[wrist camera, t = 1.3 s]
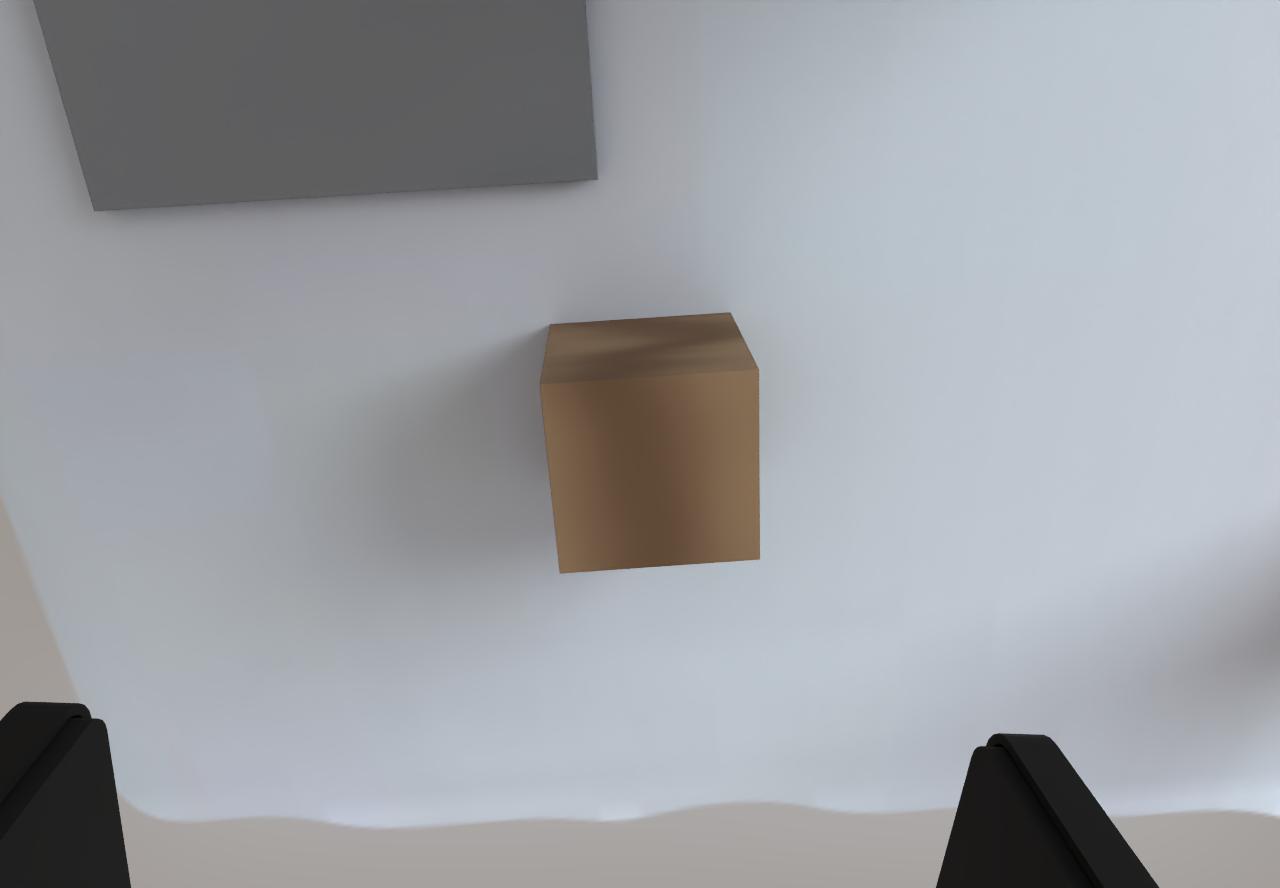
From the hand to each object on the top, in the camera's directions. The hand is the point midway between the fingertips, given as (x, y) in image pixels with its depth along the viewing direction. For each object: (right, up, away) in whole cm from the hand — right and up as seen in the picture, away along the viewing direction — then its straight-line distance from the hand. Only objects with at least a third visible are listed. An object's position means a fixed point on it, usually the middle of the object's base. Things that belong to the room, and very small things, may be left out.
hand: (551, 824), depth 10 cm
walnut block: (+1, +5, +19) cm, 20 cm away
